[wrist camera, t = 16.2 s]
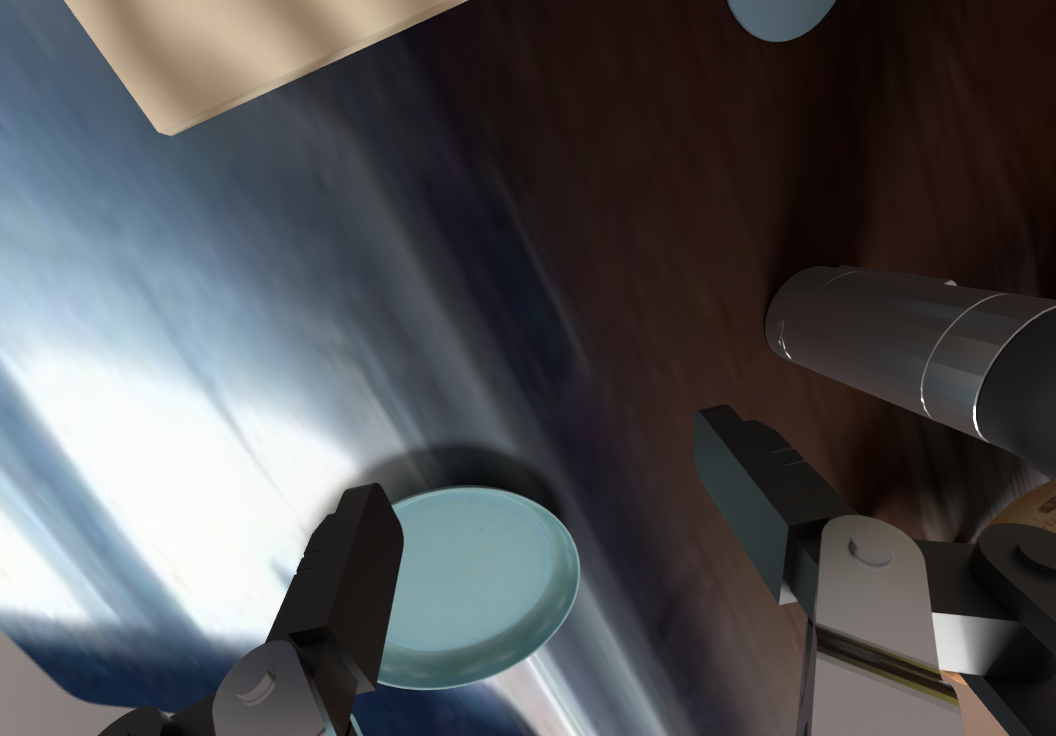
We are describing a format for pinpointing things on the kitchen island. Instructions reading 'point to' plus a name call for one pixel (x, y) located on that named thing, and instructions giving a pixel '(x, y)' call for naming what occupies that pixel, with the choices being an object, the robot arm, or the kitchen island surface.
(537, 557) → the saucer
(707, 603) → the kitchen island surface
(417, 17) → the carrier board
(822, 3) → the cocktail glass
